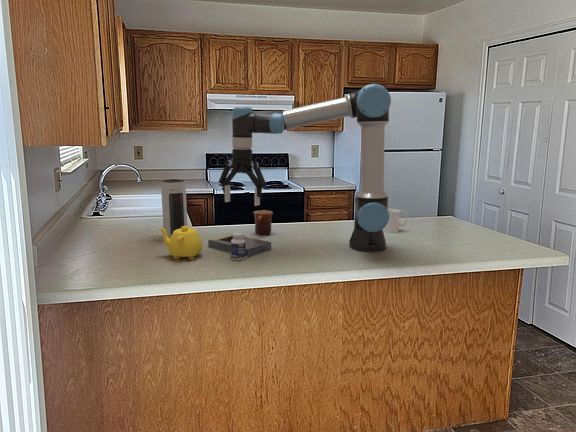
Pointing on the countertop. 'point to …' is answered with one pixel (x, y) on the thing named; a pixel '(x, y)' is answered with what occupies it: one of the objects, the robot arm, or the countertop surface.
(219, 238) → the grey flat block
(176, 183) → the speaker
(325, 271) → the countertop surface
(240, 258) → the pill bottle
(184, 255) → the teapot
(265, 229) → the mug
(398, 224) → the cup
